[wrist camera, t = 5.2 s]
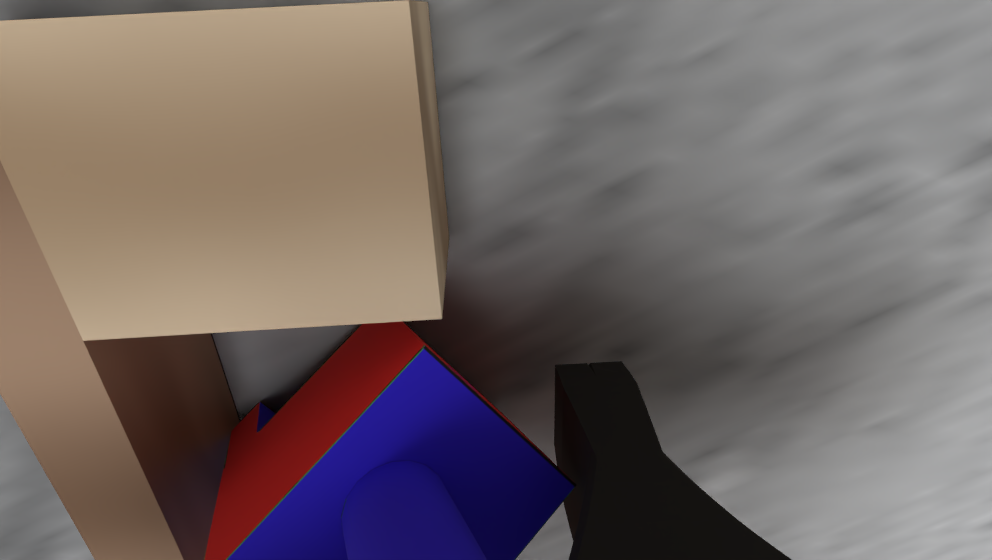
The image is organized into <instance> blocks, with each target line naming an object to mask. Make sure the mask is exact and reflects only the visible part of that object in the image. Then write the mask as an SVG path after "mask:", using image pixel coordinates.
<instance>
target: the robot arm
mask: <svg viewBox="0 0 992 560" xmlns="http://www.w3.org/2000/svg"><path fill="white" fill-rule="evenodd" d="M554 446H555V453H556V460H557V466H558V467H559V468H560V469H561V470H562V471H563V472H564V473H565V474H566V475H567V476H568V477H569V478H570V479H571V480H572V481H573V482H574V483H575V484H576V487H575V488H574V489H573V490H572V491H571V493H570V494H569V495H568V496H567V497H566V499H565V500H564V501H563V502H564V506H565V510H566V514H567V518H568V522H569V526H570V530H571V534H572V538H573V546H572V550H571V553H570V557H569V560H791V559H790V558H789V557H787V556H786V555H784V554H783V553H782V552H780V551H779V550H777V549H776V548H775V547H773V546H772V545H771V544H769V543H768V542H766V541H765V540H764V539H762V538H761V537H759V536H758V535H757V534H755V533H754V532H753V531H751V530H750V529H749V528H747V527H746V526H745V525H744V524H742V523H741V522H740V521H739V520H737V519H736V518H735V517H734V516H732V515H731V514H730V513H729V512H727V511H726V510H725V509H724V508H723V507H722V506H720V505H719V504H718V503H717V502H716V501H715V500H713V499H712V498H711V497H710V496H709V495H708V494H706V493H705V492H704V491H703V490H702V489H701V488H700V487H699V486H698V485H696V484H695V483H694V482H693V481H692V480H691V479H690V478H689V477H688V476H687V475H686V474H685V473H684V472H683V471H682V470H681V469H679V468H678V467H677V466H676V465H675V464H674V463H673V462H672V461H671V460H670V459H669V458H668V457H667V456H666V455H665V454H664V453H663V452H662V449H661V446H660V443H659V441H658V438H657V435H656V433H655V430H654V427H653V425H652V422H651V419H650V416H649V414H648V411H647V408H646V406H645V403H644V401H643V398H642V395H641V393H640V390H639V388H638V385H637V383H636V381H635V380H634V378H633V377H632V375H631V374H630V372H629V371H628V369H627V368H626V367H625V366H624V364H623V363H622V362H603V363H590V364H589V365H588V364H587V363H585V364H567V365H555V426H554Z"/></svg>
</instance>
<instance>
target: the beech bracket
mask: <svg viewBox="0 0 992 560" xmlns="http://www.w3.org/2000/svg"><path fill="white" fill-rule="evenodd" d="M448 246H449V230H448V218H447V207H446V196H445V185H444V174H443V163H442V152H441V141H440V130H439V119H438V108H437V97H436V86H435V75H434V64H433V52H432V41H431V30H430V19H429V8H428V2H423V1H411V0H405V1H385V2H365V3H345V4H325V5H305V6H285V7H265V8H245V9H225V10H205V11H186V12H166V13H146V14H126V15H106V16H86V17H66V18H46V19H26V20H6V21H0V394H1V396H2V398H3V399H4V401H5V403H6V405H7V406H8V408H9V410H10V412H11V413H12V415H13V417H14V419H15V420H16V422H17V424H18V426H19V427H20V429H21V431H22V433H23V434H24V436H25V438H26V440H27V441H28V443H29V445H30V447H31V448H32V450H33V452H34V454H35V455H36V457H37V459H38V461H39V462H40V464H41V466H42V468H43V469H44V471H45V473H46V475H47V476H48V478H49V480H50V482H51V483H52V485H53V487H54V489H55V490H56V492H57V494H58V496H59V497H60V499H61V501H62V503H63V504H64V506H65V508H66V510H67V511H68V513H69V515H70V517H71V519H72V520H73V522H74V524H75V526H76V527H77V529H78V531H79V533H80V534H81V536H82V538H83V540H84V541H85V543H86V545H87V547H88V548H89V550H90V552H91V554H92V555H93V557H94V559H95V560H204V557H205V552H206V548H207V543H208V538H209V534H210V529H211V524H212V520H213V515H214V510H215V506H216V501H217V496H218V492H219V487H220V482H221V478H222V473H223V468H224V464H225V459H226V454H227V450H228V445H229V440H230V435H231V431H232V430H233V429H234V428H235V427H236V426H237V425H238V424H239V423H240V421H239V418H238V415H237V412H236V409H235V406H234V403H233V400H232V397H231V394H230V391H229V388H228V385H227V382H226V378H225V375H224V372H223V369H222V366H221V363H220V360H219V357H218V354H217V351H216V348H215V345H214V342H213V339H212V336H211V333H220V332H236V331H253V330H269V329H286V328H302V327H319V326H335V325H352V324H368V323H385V322H401V321H418V320H434V319H442V313H443V302H444V291H445V280H446V269H447V258H448Z"/></svg>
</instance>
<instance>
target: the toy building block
mask: <svg viewBox="0 0 992 560" xmlns="http://www.w3.org/2000/svg"><path fill="white" fill-rule="evenodd" d="M575 487H576V484H575V483H574V482H573V481H572V480H571V479H570V478H569V477H568V476H567V475H566V474H565V473H564V472H563V471H562V470H561V469H560V468H559V467H558V466H556V465H555V464H554V463H553V462H552V461H551V460H550V459H549V458H548V457H547V456H546V455H545V454H544V453H543V452H542V451H541V450H540V449H539V448H538V447H537V446H536V445H535V444H534V443H532V442H531V441H530V440H529V439H528V438H527V437H526V436H525V435H524V434H523V433H522V432H521V431H520V430H519V429H518V428H517V427H516V426H515V425H514V424H513V423H512V422H511V421H510V420H508V419H507V418H506V417H505V416H504V415H503V414H502V413H501V412H500V411H499V410H498V409H497V408H496V407H495V406H494V405H493V404H492V403H490V402H489V401H488V400H487V399H486V398H485V397H484V396H483V395H482V394H481V393H480V392H479V391H477V390H476V389H475V388H474V387H473V386H472V385H471V384H470V383H469V382H468V381H467V380H466V379H464V378H463V377H462V376H461V375H460V374H459V373H458V372H457V371H456V370H455V369H454V368H453V367H451V366H450V365H449V364H448V363H447V362H446V361H445V360H444V359H443V358H442V357H441V356H440V355H438V354H437V353H436V352H435V351H434V350H433V349H432V348H431V347H430V346H429V345H428V344H427V343H425V342H424V341H423V340H422V339H421V338H420V337H419V336H418V335H417V334H416V333H415V332H414V331H412V330H411V329H410V328H409V327H408V326H407V325H406V324H405V323H404V322H403V321H401V322H385V323H368V324H362V325H361V326H360V327H359V328H358V329H357V330H356V331H355V332H354V333H353V334H352V335H351V336H350V337H349V338H348V339H347V340H346V341H345V342H344V343H343V344H342V345H341V346H340V347H339V348H338V349H337V350H336V352H335V353H334V354H333V355H332V356H331V357H330V358H329V359H328V360H327V361H326V362H325V363H324V364H323V365H322V366H321V367H320V368H319V369H318V370H317V371H316V372H315V373H314V374H313V375H312V376H311V377H310V378H309V379H308V380H307V382H306V383H305V384H304V385H303V386H302V387H301V388H300V389H299V390H298V391H297V392H296V393H295V394H294V395H293V396H292V397H291V398H290V399H289V400H288V401H287V402H286V403H285V404H284V405H283V406H282V407H281V408H280V409H279V410H278V412H277V413H276V414H275V413H274V412H273V411H271V410H270V409H269V408H267V407H266V406H265V405H263V404H262V403H261V402H259V403H258V404H257V405H256V406H255V407H254V408H253V409H252V410H251V411H250V412H249V413H248V414H247V415H246V416H245V417H244V418H243V419H242V421H241V422H240V423H239V424H238V425H237V426H236V427H235V428H234V429H233V430H232V431H231V435H230V440H229V445H228V450H227V454H226V459H225V464H224V468H223V473H222V478H221V482H220V487H219V492H218V496H217V501H216V506H215V510H214V515H213V520H212V524H211V529H210V534H209V538H208V543H207V548H206V552H205V557H204V560H515V559H516V558H517V557H518V555H519V554H520V553H521V552H522V551H523V549H524V548H525V547H526V546H527V545H528V543H529V542H530V541H531V540H532V539H533V537H534V536H535V535H536V534H537V533H538V531H539V530H540V529H541V528H542V526H543V525H544V524H545V523H546V522H547V520H548V519H549V518H550V517H551V516H552V514H553V513H554V512H555V511H556V510H557V508H558V507H559V506H560V505H561V504H562V502H563V501H564V500H565V499H566V497H567V496H568V495H569V494H570V493H571V491H572V490H573V489H574V488H575Z"/></svg>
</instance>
